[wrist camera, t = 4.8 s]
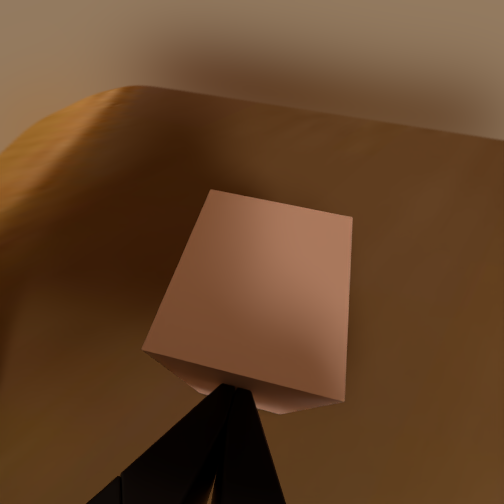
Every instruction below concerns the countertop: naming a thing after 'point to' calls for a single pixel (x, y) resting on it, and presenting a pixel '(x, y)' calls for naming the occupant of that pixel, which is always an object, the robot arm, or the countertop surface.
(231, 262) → the terracotta block
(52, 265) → the countertop surface
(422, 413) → the countertop surface
